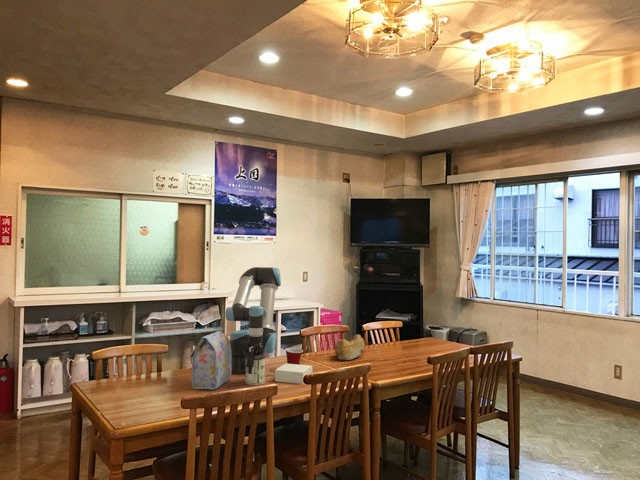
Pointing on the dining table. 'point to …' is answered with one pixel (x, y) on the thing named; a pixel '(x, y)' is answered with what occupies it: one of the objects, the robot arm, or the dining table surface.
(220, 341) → the lunch bag
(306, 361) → the dining table surface
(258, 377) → the coffee can
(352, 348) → the rough brown rock
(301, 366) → the white square box
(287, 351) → the plastic cup
